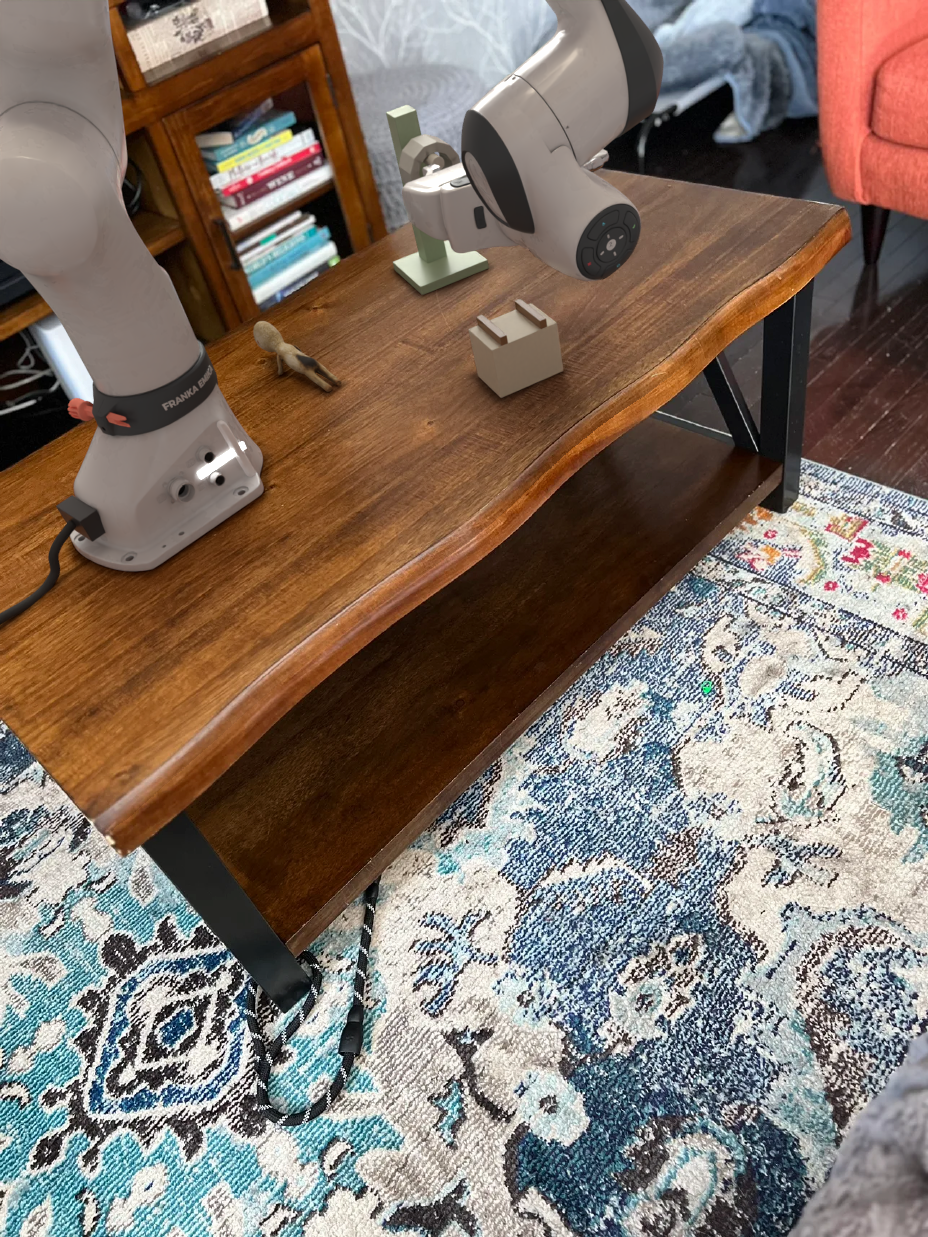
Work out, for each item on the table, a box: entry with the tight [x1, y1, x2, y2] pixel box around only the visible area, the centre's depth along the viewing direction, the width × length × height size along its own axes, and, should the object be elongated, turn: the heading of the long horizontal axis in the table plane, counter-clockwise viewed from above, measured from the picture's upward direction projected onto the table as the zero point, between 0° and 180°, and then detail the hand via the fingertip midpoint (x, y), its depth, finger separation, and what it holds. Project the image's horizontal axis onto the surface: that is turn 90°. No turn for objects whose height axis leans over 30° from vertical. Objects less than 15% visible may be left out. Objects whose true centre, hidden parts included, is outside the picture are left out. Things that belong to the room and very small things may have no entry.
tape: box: [398, 133, 461, 184], centre depth 118 cm, size 4×7×7 cm, turn 115°
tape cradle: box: [468, 298, 564, 399], centre depth 106 cm, size 6×8×7 cm
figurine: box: [253, 320, 342, 393], centre depth 117 cm, size 4×4×15 cm
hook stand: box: [385, 104, 490, 296], centre depth 123 cm, size 12×10×20 cm
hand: (467, 158), depth 105 cm, fingers open, 8 cm apart
